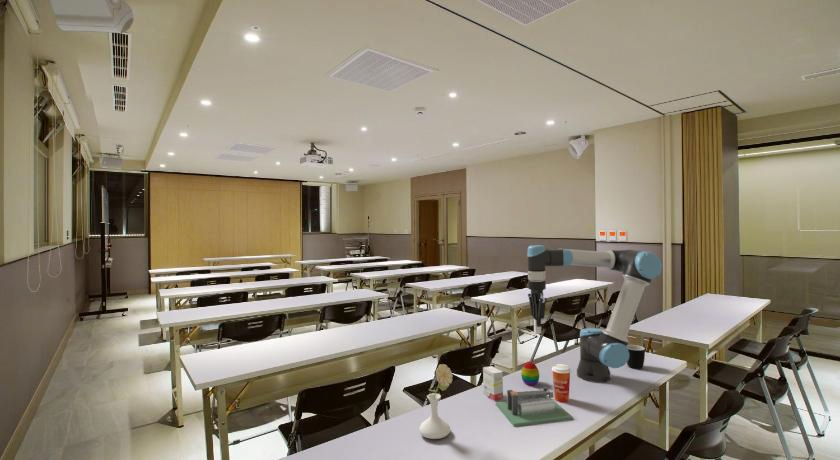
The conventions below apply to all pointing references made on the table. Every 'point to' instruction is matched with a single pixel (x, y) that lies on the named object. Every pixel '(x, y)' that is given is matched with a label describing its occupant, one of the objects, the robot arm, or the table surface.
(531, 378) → the decorative egg
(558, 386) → the paper cup
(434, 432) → the flower in vase
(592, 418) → the table surface
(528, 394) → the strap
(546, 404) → the block
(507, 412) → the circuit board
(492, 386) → the ink box
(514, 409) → the lug posts
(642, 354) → the mug
